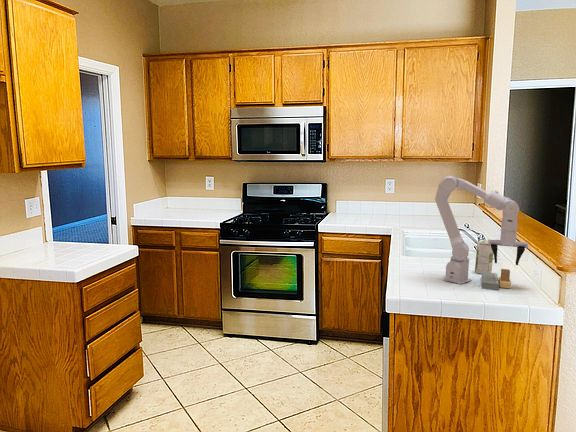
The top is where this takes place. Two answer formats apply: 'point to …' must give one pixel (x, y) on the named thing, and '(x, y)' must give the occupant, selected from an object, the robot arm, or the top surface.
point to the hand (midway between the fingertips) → (506, 263)
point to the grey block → (490, 281)
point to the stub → (505, 279)
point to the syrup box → (483, 257)
